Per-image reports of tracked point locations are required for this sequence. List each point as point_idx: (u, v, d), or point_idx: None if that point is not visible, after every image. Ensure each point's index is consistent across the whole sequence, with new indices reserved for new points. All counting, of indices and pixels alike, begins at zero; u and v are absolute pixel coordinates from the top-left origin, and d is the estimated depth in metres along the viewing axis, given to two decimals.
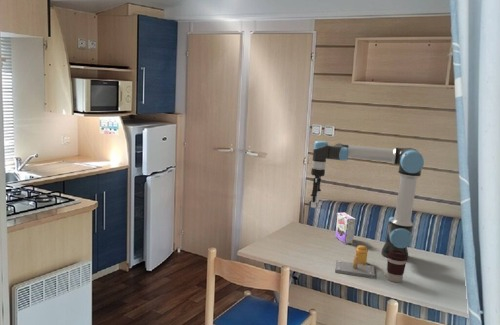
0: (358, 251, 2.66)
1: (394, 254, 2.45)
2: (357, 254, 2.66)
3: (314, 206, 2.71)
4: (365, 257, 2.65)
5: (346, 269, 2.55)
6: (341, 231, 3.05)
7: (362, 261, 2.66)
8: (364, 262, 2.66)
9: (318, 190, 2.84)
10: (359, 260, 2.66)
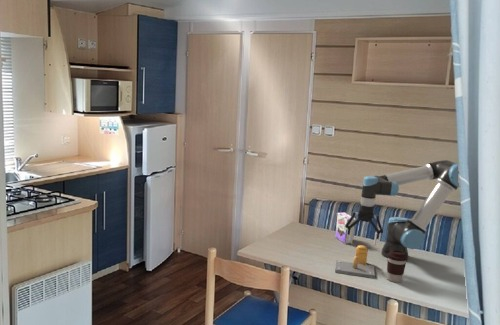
0: (358, 251, 2.66)
1: (394, 254, 2.45)
2: (357, 254, 2.66)
3: (349, 239, 2.68)
4: (365, 257, 2.65)
5: (346, 269, 2.55)
6: (341, 231, 3.05)
7: (362, 261, 2.66)
8: (364, 262, 2.66)
9: (377, 232, 2.64)
10: (359, 260, 2.66)
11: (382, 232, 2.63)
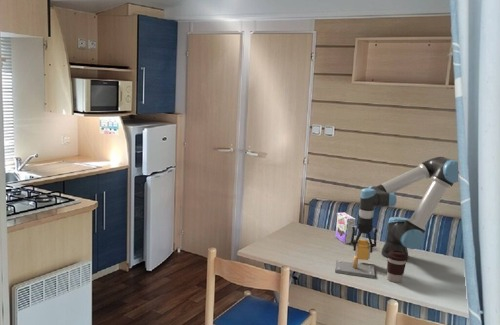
0: (360, 245, 2.65)
1: (394, 254, 2.45)
2: (359, 248, 2.65)
3: (355, 255, 2.69)
4: (367, 251, 2.65)
5: (346, 269, 2.55)
6: (341, 231, 3.05)
7: (365, 256, 2.65)
8: (366, 256, 2.65)
9: (370, 245, 2.66)
10: (361, 254, 2.66)
11: (375, 246, 2.65)
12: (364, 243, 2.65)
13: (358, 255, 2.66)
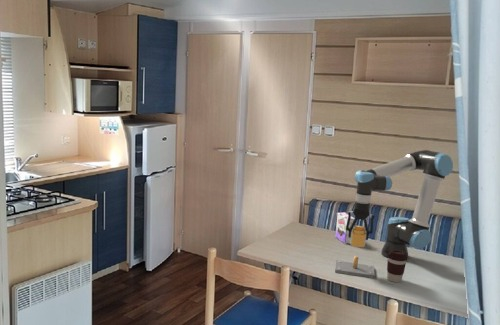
0: (355, 232, 2.53)
1: (394, 254, 2.45)
2: (354, 235, 2.53)
3: None
4: (362, 238, 2.52)
5: (346, 269, 2.55)
6: (341, 231, 3.05)
7: (360, 242, 2.52)
8: (362, 243, 2.52)
9: (366, 232, 2.53)
10: (356, 241, 2.53)
11: (371, 233, 2.52)
12: (360, 229, 2.52)
13: (353, 242, 2.53)
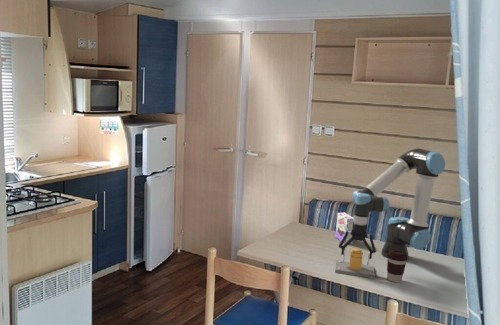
0: (353, 255, 2.55)
1: (394, 254, 2.45)
2: (352, 258, 2.55)
3: None
4: (360, 261, 2.54)
5: (346, 269, 2.55)
6: (341, 231, 3.05)
7: (357, 266, 2.55)
8: (359, 266, 2.54)
9: (370, 252, 2.54)
10: (354, 264, 2.55)
11: (375, 252, 2.53)
12: (357, 253, 2.54)
13: (350, 265, 2.55)
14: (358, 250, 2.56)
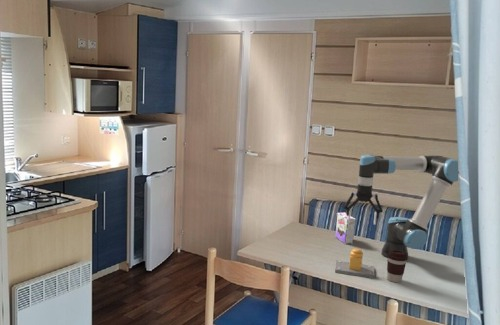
0: (353, 255, 2.55)
1: (394, 254, 2.45)
2: (352, 258, 2.55)
3: (348, 220, 2.62)
4: (360, 261, 2.54)
5: (346, 269, 2.55)
6: (341, 231, 3.05)
7: (357, 266, 2.55)
8: (359, 266, 2.54)
9: (376, 211, 2.59)
10: (354, 264, 2.55)
11: (382, 211, 2.58)
12: (357, 253, 2.54)
13: (350, 265, 2.55)
14: (358, 250, 2.56)
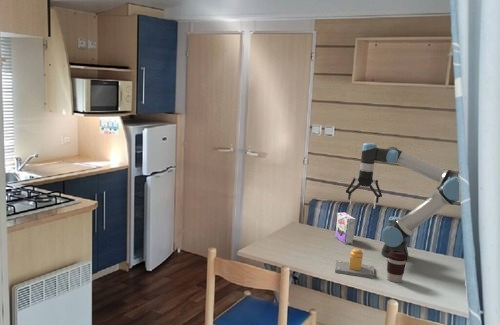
0: (353, 255, 2.55)
1: (394, 254, 2.45)
2: (352, 258, 2.55)
3: None
4: (360, 261, 2.54)
5: (346, 269, 2.55)
6: (341, 231, 3.05)
7: (357, 266, 2.55)
8: (359, 266, 2.54)
9: None
10: (354, 264, 2.55)
11: (381, 196, 2.74)
12: (357, 253, 2.54)
13: (350, 265, 2.55)
14: (358, 250, 2.56)
